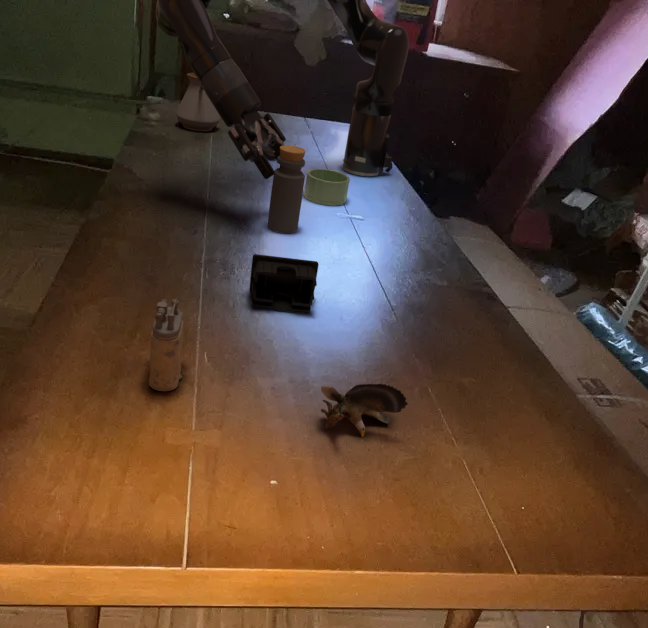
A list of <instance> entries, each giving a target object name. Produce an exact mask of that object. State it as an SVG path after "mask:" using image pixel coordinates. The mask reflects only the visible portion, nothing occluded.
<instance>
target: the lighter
mask: <svg viewBox="0 0 648 628" xmlns="http://www.w3.org/2000/svg"><path fill="white" fill-rule="evenodd" d="M179 301H180V300H179V299H177V298H173V299H172V300H171V306H169V305H168V300H167V299H166V298H162V299H161V300H160V301H158V302H157V304H156V313H155V315H154V321H153V323H152V331H151V334H150V355H149V380H148V386H150V387H151V388H152V389H153V390H155V391H160V392H170V391H173V390H175V389H177V387H178V385H179V381H181V379H183V374H182V373H181V372H182V356H183V355H182V353H183V339H184V323H185V322H184V320H183V317H184V315H183V311H182V310H180V308H178V307H179V304H180V302H179Z"/></svg>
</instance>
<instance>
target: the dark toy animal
mask: <svg viewBox="0 0 648 628" xmlns="http://www.w3.org/2000/svg"><path fill="white" fill-rule="evenodd" d="M320 391H321V393H322V394H323V395H324V396H325V398H327V400H326V399H322V402H323V403H325V404H326V407H327V409H325V408H321V409H320V411H321V413H323V414H324V415H325V417H326V423H325V425H324V429H325V430H327V429H330V428H332V427H334V426H335V425H336V423H337V422H338V421H341V420H342V419H343V418H347V419H348V420H349V421H350V423H351V424H352V425H354V427H356V429H357V431H358V432H359V433H360V436H361V437H360V438H363V437H365V432H366V426H365V424H364V422H363V419H362V416H364V415H365V416H367V417H371V418H373V419H376V420H378V421H380V422H382V423H384V424H386V425H389V423H390V419H389V417H388V416H387V415H385V414H384V413H385V412H386V413H392V414H393V413H394V414H396V413H401V412H402V410H403V409H405V408H406V407H407V406H408V405H409V404H408V402H407V397H406V396H405V394H404V393H403V392H402V390H400V389H398V388H397V387H394V386H393V385H392V386H391V385H390V384H386V383H361V384H360V383H359V384H356V385H354V386H352V388H350V389H349V390H348V391H347V392H346V393H345V394H342V393H340V392H338V391H337V389H336V388H335V387H333V386H330V385H322V386H320ZM328 400H330V401H333V402H336V403H335V404H334V405H333V404H332V403H331V402H330V401H328Z"/></svg>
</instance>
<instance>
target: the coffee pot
mask: <svg viewBox="0 0 648 628" xmlns="http://www.w3.org/2000/svg"><path fill="white" fill-rule="evenodd" d="M186 76H187V78H188V81H189V85H188V86H187V89H186V91H185V93H184V95H183V98H182V100H181V102H180V104H179V106H178V108H177V110H176V112H175V116H176V118H177V120H178V122H179V123H181V124H182V127H184V128H185V129H188V130H191V131H195V132H196V131H197V132H209V131H212V130H213V129H214V128H216V126H218V125H219V123H220V121H221V116H220V115H219V113H218V112H217V110H216V109H215V107H214V106H213V104H212V102H211V101H210V99H209V98H208V96H207V94H206V93H205V91H204V89H203V86H202V84H201V83H200V81H199V80H198V78H197V76H196V75H195V73H194V72H188V73H186Z"/></svg>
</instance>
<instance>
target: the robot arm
mask: <svg viewBox="0 0 648 628" xmlns="http://www.w3.org/2000/svg"><path fill="white" fill-rule="evenodd" d="M326 1H327V2H328V4H329V6H330V7H331V8H332V10H333V12H334V13H335V14H336V16H337V17H338V19H339V20H340V22H341V23H342V26H343V27H344V29H345V32H346V33H347V35H348V37H349V39H350V41H351V43H352V46H353V48H354V49H355V52H356V53H357V55H358V57H359V58H360V59H361V60H362V61H364V62H365V63H366V64H369V65H372V66H374V68H373V71H372V73H371V76H370V77H369V78H368V79H365V80H360V81H357V83H356V85H355V92H354V97H353V103H352V108H351V109H352V110H351V115H350V121H349V125H348V126H349V127H348V133H347V138H346V143H345V150H344V156H343V159H342V160H343V162H342V165H341V168H342V170H343V171H345V172H347V173H349V174H352V175H355V176H361V177H377V176H382V175H383V173H384V168H386V169H385V172H386V173H389V172H390V171H391V170H392V169H393V166H394V165H393V157H392V156H390V155H389V154H387V153H388V149H389V148H388V147H389V143H390V138H391V137H390V135H389V134H388V131H389V125H390V120H391V116H392V115H391V114H392V111H393V105H394V100H395V96H396V94H397V92H398V90H399V88H400V85H401V81H402V77H403V74H404V69H405V66H406V63H407V58H408V53H409V48H410V47H409V46H410V39H409V34H408V32H407V30H406V29H405V28H404V27H403V26H401V25H397V24H394V23H391V22H387V21H383V20H381V19H380V18H378V17H377V15H376V14H375V13H374V12H373V10H372V8H371V7H370V5H369V4H368V1H367V0H326ZM212 2H213V0H157V1H156V5H155V18H156V22H157V26H158V27H159V29H160V30H161V31H162V32H163V33H164V34H166V35H167V36H170V37H174V38H178V39H179V42H180V43H181V44H182V48H183V52H184V53H183V54H184V57H185V60H186V62H187V64H188V65H189V67H190V69H191V71H192V73H195V75H196V76H197V78H198V80H199V81H200V83H201V84H202V86H203V89H204V91H205V93H206V94H207V96H208V98H209V99H210V101H211V102H212V104H213V106H214V107H215V109H216V110H217V112H218V113H219V116H220V119H221V120H222V121H223V123H224V124H225V126H226V127H228V128H230V129H229V130H228V131H227V134H228V136H229V137H230V140H231V141H232V143H233V144H234V146H235V147H236V150H237V151H238V153H239V154H240V156H241V157H242V159H243V160H244V161H245V162H247V161H250V162H251V163H254V165H255V166H256V168H257V169H258V171H259V172H260V174H261V176H262V178H263V179H264V180H268V179H270V178H272V177H273V175H274V174H275V169H274V168H273V166H272V165H271V162H270V161H269V159H268V158H267V157H266V156H265V155H263V151H262V147H261V145H262V146H263V147H268V148H269V149H270V150H271V151H273V152H274V153H273V154H274V155H275V157H276V158H278V156H280V147H281V146H283V145H285V142H286V141H287V139H286V136H285V135H284V134H283V132H282V130H281V129H280V127H279V126H278V124H277V123H276V122H275V120H274V118H273V117H272V115H271V114H270V113H269V112H266V113H265V114H264V115H261V114H260V113H259V112H258V111H259V108H260V107H261V106H262V102H261V100H260V98H259V96H258V95H257V93H256V92H255V90H254V88H252V86H251V84H250V82H249V81H248V80H247V78H246V76H245V74H244V73H243V72H242V70H241V68H240V67H239V66H238V65H237V63H236V62H235V60H234V59H233V58H232V56H231V54H230V53H229V51H228V50H227V48H226V47H225V46H224V44H223V42H222V41H221V39H220V37H219V36H218V35H217V33H216V30H215V27H214V24H213V22H212V20H211V18H210V16H209V13H208V11H207V10H208V8H209V7H210V5H211V3H212ZM270 142H271V143H272V144H271V143H270Z"/></svg>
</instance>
